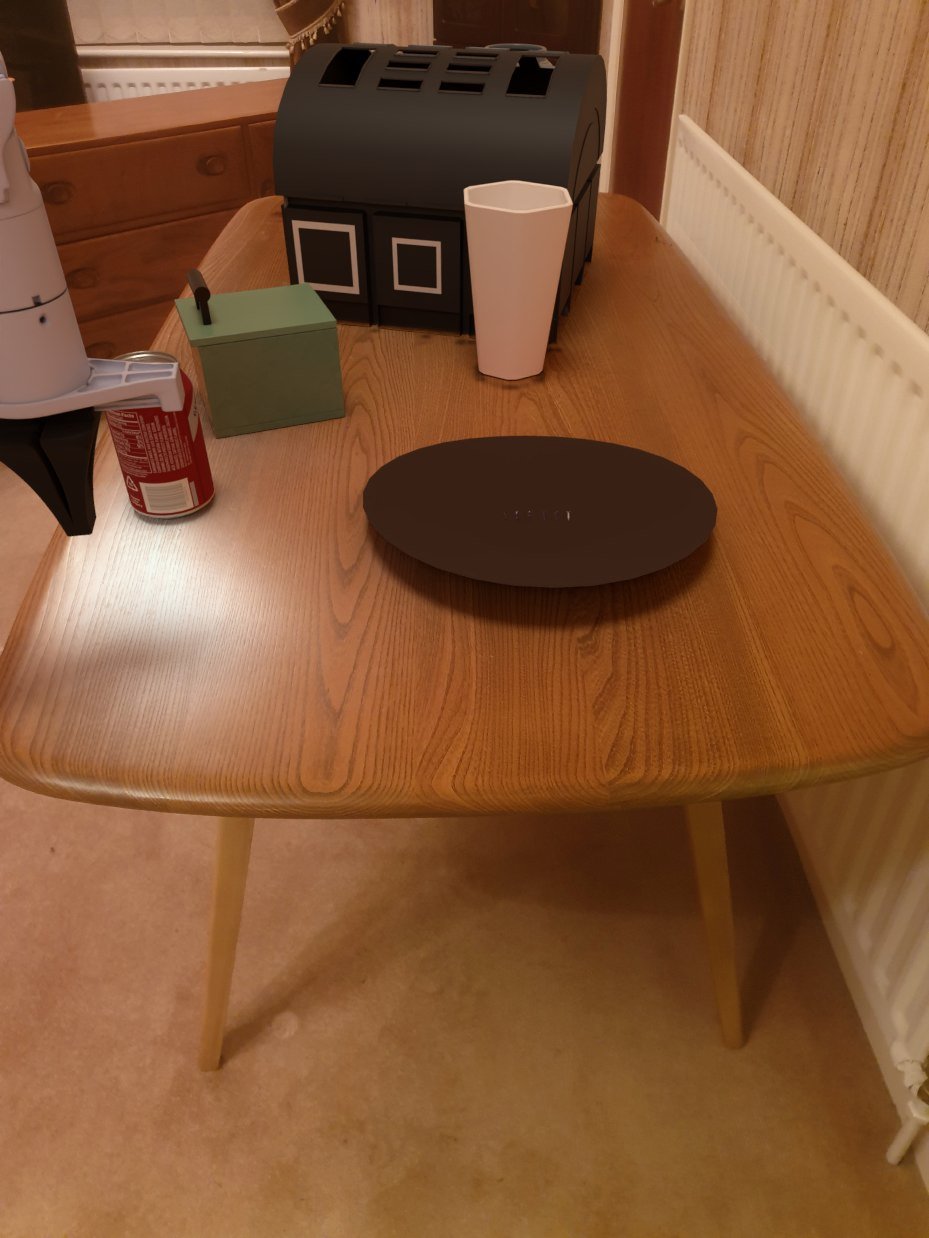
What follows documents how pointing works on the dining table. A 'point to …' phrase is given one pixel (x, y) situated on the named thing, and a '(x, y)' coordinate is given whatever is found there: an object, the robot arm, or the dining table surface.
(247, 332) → the bread bin lid
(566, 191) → the cup
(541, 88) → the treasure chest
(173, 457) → the soda can
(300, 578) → the dining table surface
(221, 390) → the bin
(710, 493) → the plate
